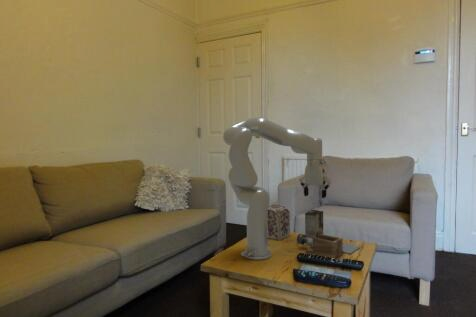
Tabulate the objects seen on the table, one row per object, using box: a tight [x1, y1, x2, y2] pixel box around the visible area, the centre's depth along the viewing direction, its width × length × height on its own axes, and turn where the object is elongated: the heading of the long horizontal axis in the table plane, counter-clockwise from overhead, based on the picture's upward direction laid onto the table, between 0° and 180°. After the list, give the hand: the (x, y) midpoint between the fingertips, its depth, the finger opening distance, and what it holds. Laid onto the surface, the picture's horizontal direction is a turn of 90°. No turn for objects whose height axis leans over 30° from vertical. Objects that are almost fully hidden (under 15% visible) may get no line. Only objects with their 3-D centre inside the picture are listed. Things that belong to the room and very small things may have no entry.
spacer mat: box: [343, 243, 361, 255], centre depth 168 cm, size 12×12×1 cm
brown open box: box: [305, 234, 344, 259], centre depth 161 cm, size 10×14×8 cm
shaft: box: [296, 233, 313, 246], centre depth 165 cm, size 5×14×5 cm, turn 50°
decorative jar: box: [268, 202, 291, 241], centre depth 189 cm, size 12×12×18 cm
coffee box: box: [304, 209, 324, 247], centre depth 176 cm, size 9×6×16 cm
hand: (314, 196), depth 176 cm, fingers open, 9 cm apart
